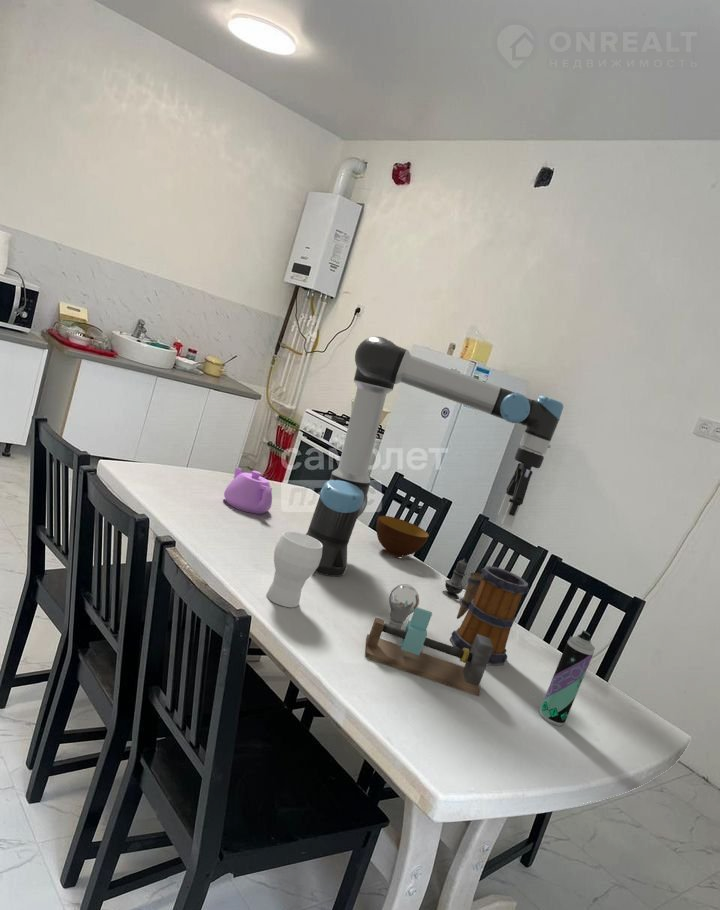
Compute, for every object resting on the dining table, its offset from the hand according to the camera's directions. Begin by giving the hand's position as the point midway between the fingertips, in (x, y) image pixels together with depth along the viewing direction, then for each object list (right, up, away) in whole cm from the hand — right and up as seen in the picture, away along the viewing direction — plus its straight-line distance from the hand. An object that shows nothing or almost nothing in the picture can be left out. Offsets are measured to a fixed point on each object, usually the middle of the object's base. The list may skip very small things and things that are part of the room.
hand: (504, 520), depth 197 cm
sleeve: (-30, -23, -49) cm, 62 cm away
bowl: (-30, -14, +32) cm, 46 cm away
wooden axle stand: (-28, -27, -48) cm, 62 cm away
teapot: (-78, +2, +28) cm, 83 cm away
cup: (-59, -15, -38) cm, 72 cm away
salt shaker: (-14, -23, +9) cm, 28 cm away
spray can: (-1, -37, -52) cm, 63 cm away
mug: (-13, -29, -26) cm, 41 cm away
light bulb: (-34, -23, -35) cm, 54 cm away
